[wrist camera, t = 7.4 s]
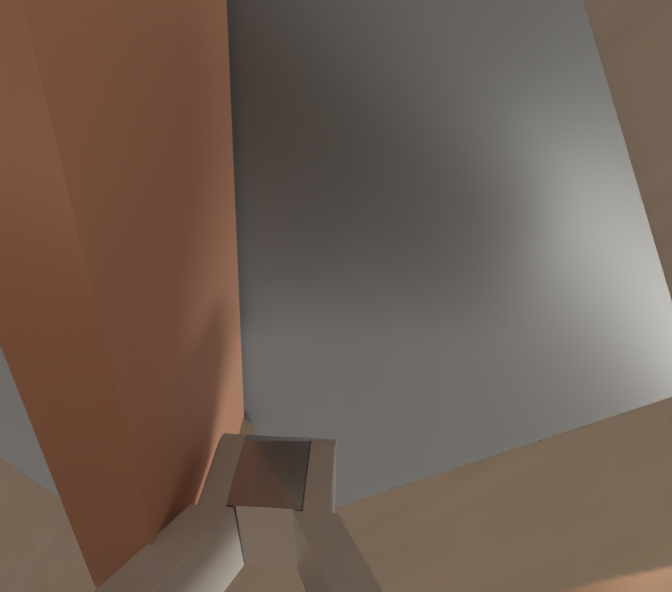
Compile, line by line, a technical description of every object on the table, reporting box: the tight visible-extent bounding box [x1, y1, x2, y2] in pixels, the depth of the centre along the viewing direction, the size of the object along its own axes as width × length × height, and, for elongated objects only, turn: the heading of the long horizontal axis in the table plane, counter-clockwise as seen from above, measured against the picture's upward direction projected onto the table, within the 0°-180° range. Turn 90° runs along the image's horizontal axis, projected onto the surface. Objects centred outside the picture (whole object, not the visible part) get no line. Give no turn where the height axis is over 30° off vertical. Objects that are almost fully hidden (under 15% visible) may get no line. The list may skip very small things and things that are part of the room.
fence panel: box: [0, 0, 257, 590], centre depth 9 cm, size 2×13×6 cm, turn 176°
